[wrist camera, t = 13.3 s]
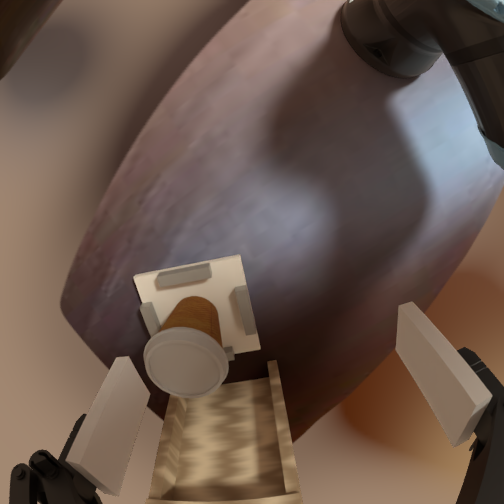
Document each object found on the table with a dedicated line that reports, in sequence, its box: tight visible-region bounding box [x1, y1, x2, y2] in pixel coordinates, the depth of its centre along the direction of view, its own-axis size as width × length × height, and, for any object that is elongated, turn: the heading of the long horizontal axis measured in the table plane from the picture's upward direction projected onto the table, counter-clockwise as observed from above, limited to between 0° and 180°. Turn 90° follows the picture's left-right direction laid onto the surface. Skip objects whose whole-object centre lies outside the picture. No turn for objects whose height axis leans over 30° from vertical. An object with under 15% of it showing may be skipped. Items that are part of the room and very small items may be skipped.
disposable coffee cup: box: [144, 296, 229, 398], centre depth 34 cm, size 10×10×12 cm
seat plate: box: [133, 254, 261, 361], centre depth 40 cm, size 15×15×2 cm
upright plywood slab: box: [145, 360, 303, 504], centre depth 31 cm, size 17×6×30 cm, turn 101°
